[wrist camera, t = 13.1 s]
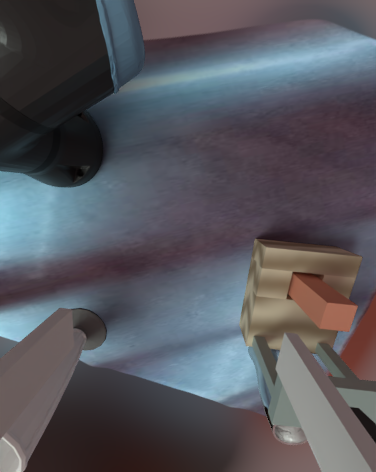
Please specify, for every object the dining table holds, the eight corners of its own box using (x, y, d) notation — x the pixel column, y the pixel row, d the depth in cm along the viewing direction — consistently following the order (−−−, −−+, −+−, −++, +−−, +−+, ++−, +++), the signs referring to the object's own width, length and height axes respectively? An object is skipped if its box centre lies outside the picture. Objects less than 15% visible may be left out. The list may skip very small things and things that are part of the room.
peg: (280, 262, 38) (327, 302, 24) (299, 264, 38) (358, 305, 24) (276, 280, 39) (319, 328, 25) (295, 282, 39) (349, 331, 25)
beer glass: (251, 365, 44) (278, 450, 30) (241, 341, 43) (265, 419, 28) (280, 356, 43) (322, 440, 29) (271, 332, 42) (311, 408, 27)
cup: (55, 306, 43) (-81, 418, 22) (104, 309, 42) (14, 425, 21) (62, 348, 45) (-54, 483, 24) (108, 351, 45) (31, 491, 24)
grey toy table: (252, 314, 34) (283, 381, 22) (340, 323, 34) (420, 396, 22) (246, 346, 36) (271, 424, 24) (330, 355, 36) (398, 439, 23)
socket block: (255, 238, 37) (266, 247, 31) (336, 246, 37) (362, 256, 31) (239, 324, 42) (246, 346, 36) (311, 332, 41) (330, 355, 36)
